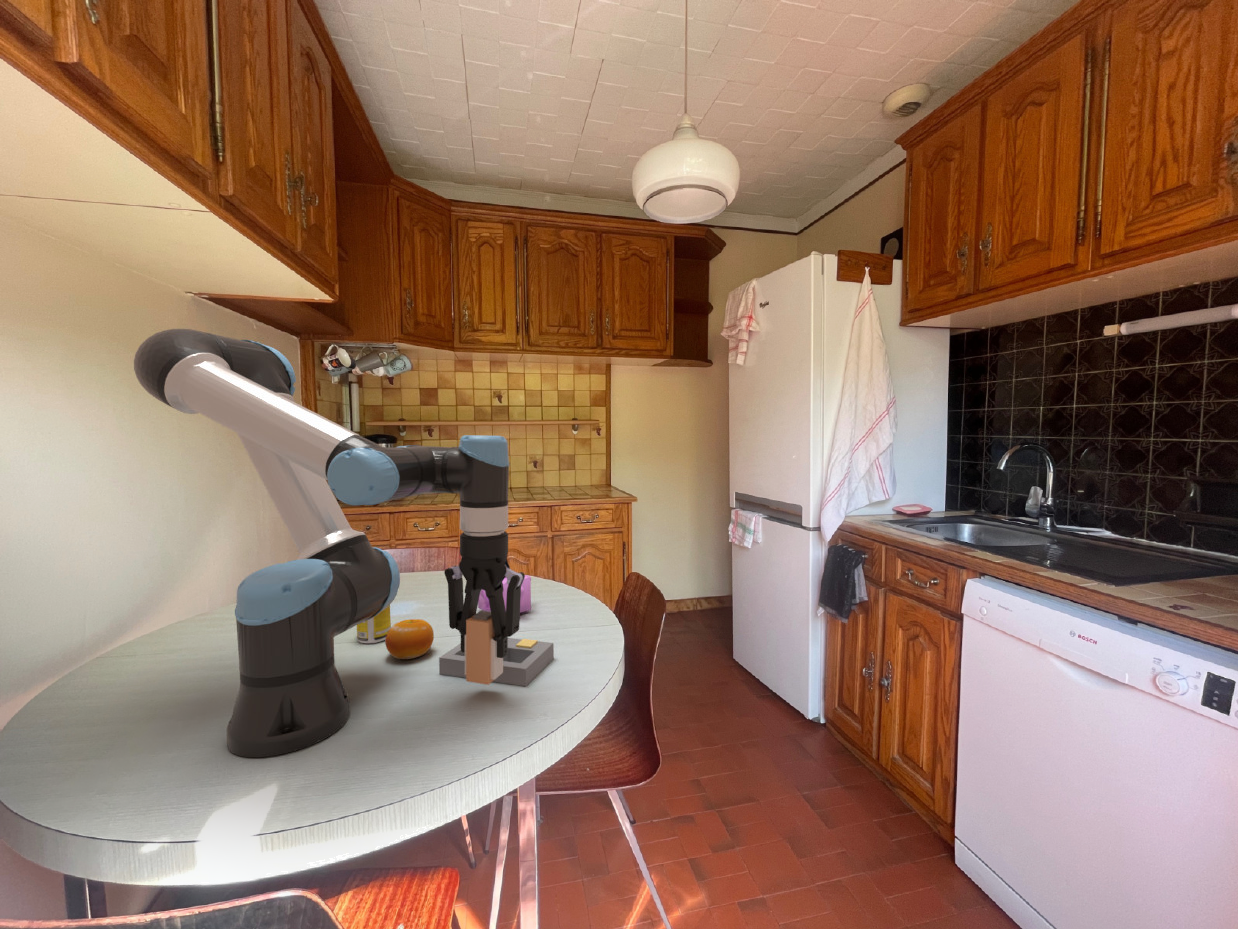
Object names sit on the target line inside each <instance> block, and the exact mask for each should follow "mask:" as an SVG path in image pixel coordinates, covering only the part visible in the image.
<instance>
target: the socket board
mask: <svg viewBox="0 0 1238 929" xmlns="http://www.w3.org/2000/svg"><path fill="white" fill-rule="evenodd" d="M554 648H555V647H554V642H549V641H540V640H537V639H527V638H522V639H521V638H513V637H508V652H507V655H506V656H504V657H503V673H502V674H501V675H500V676H498V677H497V678H496V679H495V680H494V681H492V682H491V683H500V684H506V685H514V686H520V687H527V686H528V685H529V684H531V682H532V681H533V680H534V679H535V678H536V677H537V676H538V675H539V674H540V673H541V672H542V671H543V670H544V669H545V668H546V667H547V666H548V665H549V664H550V663H551V662H552V661H553V660H554V659H555V658H554V657H555V653H554ZM438 662H439V663H438V664H439V666H438V669H439V675H443V676H450V677H457V678H465V679H466V675H465V652H462V651H461V642H460V643H459V644H457V645H456V646H453V648H451V649H450V650H449V651H447V652H445V653H444V654H442V655H441V656H439V657H438Z"/></svg>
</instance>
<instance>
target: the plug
mask: <svg viewBox="0 0 1238 929" xmlns="http://www.w3.org/2000/svg"><path fill="white" fill-rule="evenodd" d="M494 636H495V633H494V627H493V621H492V616H491V612H489V611H483V610H480V611H478V612H476V614H475V615H473V616H472V617H471V618H469V619H467V620H466V678H465V680H466V681H465V682H469V683H475V684H476V683H477V684H479V685H487V686H489V685H490V684H491V683H493V682H492V681H494V680H493V679H491V639H492V638H493V637H494Z"/></svg>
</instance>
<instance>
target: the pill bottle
mask: <svg viewBox="0 0 1238 929" xmlns="http://www.w3.org/2000/svg"><path fill="white" fill-rule="evenodd" d="M391 620H392V619H391V604H390V605H389V606H388V607H387V608H386V609H384V610H383V611H381V612H380V613H379V614H378V615H376V616H374V617H373V618H371V619H369V620H366V621H364V622H362V623H360V624H358V625H356V639H357V641H358V642H359V643H362V644H375V643H376V644H377V643H379V642H383V641H385V640H386V636H387V633H388V631H389V630H390V628H391V627H392V625H391V624H392V623H391Z"/></svg>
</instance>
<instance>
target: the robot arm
mask: <svg viewBox="0 0 1238 929" xmlns="http://www.w3.org/2000/svg"><path fill="white" fill-rule="evenodd" d="M133 370H134V372H135V374H134V375H135V376H136V379H137V381H138V383H139V384H140V385H141V386H142V387H143V389H144V390H145V391H146V392H147V393H148V394H149V395H150V396H152V397H153V398H155V399H156V400H158V401H160V402H162V403H163V404H164V405H167V406H169V407H171V408H173V409H174V410H176V411H178V412H180V413H184V414H187V415H188V414H189V415H196V414H200V415H201V416H204V417H206V418H208V419H209V420H211V421H213V422H216V423H217V424H219V425H221V426H222V427H225V428H227V429H228V430H231V431H232V432H234V433H236V434H237V437H238V438H239V440H240V442H241V444H242V446H243V448H244V449H245V451H246V453H247V455H248V457H249V459H250V461H251V463H252V465H253V467H254V469H255V470H256V472H257V474H258V476H259V478H260V480H261V482H262V484H263V486H264V487H265V488H264V489H265V490H266V491H267V494H268V495H269V497H270V499H271V501H272V503H273V504H274V507H275V509H276V511H277V512H278V514H279V516H280V518H281V520H282V522H283V524H284V525H285V527H286V529H287V531H288V533H289V536H290V538H291V539H292V541H293V543H294V545H295V547H296V548H297V550H298V554H299V555H298V556H297V558H296V559H294V560H290V561H286V562H284V563H275V564H272V565H269V566H265V567H263V568H261V569H259V570H256V571H255V572H252V573H251V574H249V575H247V576H246V577H245V578H243V580H241V582H240V584H239V585H238V587H237V589H236V605H235V609H234V616H235V619H236V620H235V622H236V633H237V634H236V635H237V649H238V662H239V663H238V666H239V667H238V668H239V690H238V693H237V696H236V698H235V699H236V700H235V703H234V706H233V710H232V714H231V717H230V719H229V721H228V724H227V727H226V744H227V749H228V751H230V752H231V753H233V755H237V756H241V757H246V758H264V757H265V758H266V757H275V756H279V755H284V754H288V753H291V752H295V751H298V750H302V749H304V748H307V747H309V746H312V745H314V744H317V743H318V742H321V741H323V740H325V739H326V738H328V737H330V736H331V735H333V734H335V733H336V732H337V731H339V730H340V729H341V728H342V727H343V726H344V725H345V724H346V723H347V721H348V719H349V717H350V714H351V711H350V710H351V708H350V698H349V695H348V692H347V691H346V690H345V687H344V684H343V682H342V681H343V680H342V679H341V676H340V674H339V672H338V671H337V670H338V669H337V667H336V662H335V639H334V638H335V637H337V636H338V635H341V634H342V633H345V632H346V631H349V630H351V629H352V628H354V627H357V625H358V624H360V623H362V622H364V621H366V620H369V619H371V618H373V617H374V616H376V615H378V614H379V613H380V612H381V611H383V610H384V609H386V608H387V607H388V606H389V605H390V606H391V605H392V603H393V601H395V599H396V597H397V594H398V591H399V588H400V583H401V574H400V573H401V572H400V569H399V566H398V563H397V561H396V560H395V558H394V556H392V555H391V553H389V552H388V551H387V550H383V549H381V548H380V547H376V546H375V547H374V546H372V544H371V542H370V539H368V537H367V534H366V533H365V532H362V531H359V530H355V529H353V528H352V527H351V524H350V523H349V521H348V519H347V518H346V516H345V514H344V512H343V510H342V508H341V506H340V504H339V503H338V500H339V501H340V502H342V503H344V504H347V505H350V506H362V505H363V506H371V505H373V506H374V505H377V504H381V503H384V502H389V501H393V500H397V499H398V500H399V499H402V498H408V497H412V496H417V495H422V494H430V493H431V494H459V530H461V534H460V535H459V554H460V555H459V556H461V558H460V561H459V563H458V565H452V566H450V567H449V568H446V569H444V571H443V572H444V576H445V579H446V581H447V589H448V591H447V594H448V597H447V598H448V621H449V622H448V626H449V628H451V629H452V630H453V629H455V630H457V631H458V632H459V635H460V643H461V651H462V652H465V675H466V620H467V619H469V618H471V617H472V616H473V615H475V614H477V610H478V601H479V596H480V591H481V590H482V589H483V590H485V592H486V597H488V599H489V605H490V610H491V616H492V621H493V627H494V633H495V636H494V637H493V638H492V639H491V679H493V680H495V679H496V678H497V677H498V676H500V675H501V674H502V673H503V657H504V656H506V655H507V652H508V638H511V637H512V636H513V635H515V634H516V633H517V632H518V631H519V630H520V621H521V620H520V619H521V618H520V617H521V613H520V598H521V585H522V583H523V580H524V578H525V575H526V574H525V573H524V572H522V571H521V572H516V571H515V570H513V569H511V565H510V564H509V561H508V556H509V555H508V553H509V533H508V532H507V531H506V530H507V529H508V528H509V476H510V475H509V474H510V472H509V471H510V470H509V468H510V465H511V464H510V462H509V458H510V457H509V444H508V440H507V439H506V438H505V437H504V436H503V435H480V434H479V435H478V434H477V435H473V434H472V435H471V434H470V435H469V434H468V435H467V434H466V435H462V436H461V437H460V439H459V444H458V446H451V447H450V446H430V445H428V446H427V445H420V444H419V445H417V444H414V445H399V446H396V447H395V446H394V447H385V446H382V445H380V444H379V443H378V444H377V443H376V442H374V441H371V440H370V439H367V438H365V437H364V436H361V435H360V434H358V433H356V432H355V431H353V430H350V429H349V428H346V427H344V426H343V425H341V424H338V423H336V422H334V421H333V420H330V418H329V419H328V418H326V417H325V416H322V415H321V414H319V413H317V412H315V411H312V410H310V409H308V408H307V407H305V406H303V405H301V404H299V403H296V402H295V399H294V397H293V396H294V394H295V392H296V387H295V386H294V384H295V383H296V382H297V378H296V374H295V370H294V368H293V366H292V364H291V362H290V361H289V359H288V358H287V357H286V356H285V355H284V354H283V353H281V352H280V351H279V350H278V349H276V348H274V347H272V346H269V345H266V344H263V343H260V342H258V341H253V340H250V339H237V338H234V337H233V338H232V337H229V336H224V335H219V334H214V333H210V332H206V331H201V330H197V329H190V328H171V329H167V330H166V329H165V330H161V331H159V332H156V333H154V334H152V335H150V336H149V337H147V338H146V339H145V340H144V341H143V342H142V343H141V344H140V345H139V347H138V348H137V350H136V352H135V355H134V359H133ZM463 577H464V579H465V580H466V582H465V588H464V580H463ZM505 577H507V582H506V584H507V585H508V588H507V600H506V610H505V604H504V598H503V590H504V589H503V583H502V581H503V580H504V578H505ZM464 594H465V597H464Z"/></svg>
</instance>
